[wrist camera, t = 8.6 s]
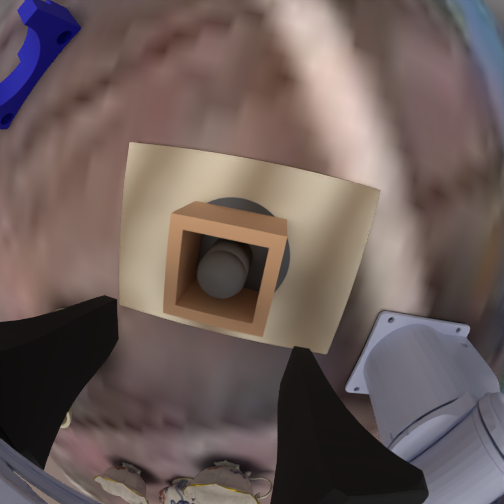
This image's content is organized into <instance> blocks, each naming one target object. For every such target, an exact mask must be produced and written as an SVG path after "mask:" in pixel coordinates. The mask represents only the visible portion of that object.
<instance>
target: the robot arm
mask: <svg viewBox="0 0 504 504" xmlns="http://www.w3.org/2000/svg"><path fill="white" fill-rule="evenodd" d="M390 317H393V318H392V319H391V320H389V321H388V319H389V318H390ZM457 328H458V329H457ZM456 329H457V330H456ZM469 331H470V327H469V326H468V325H467V324H461V323H455V322H449V321H442V320H436V319H430V318H424V317H418V316H412V315H406V314H401V313H395V312H389V311H383V312H381V313H380V314H379V315H378V317H377V320H376V322H375V325H374V327H373V329H372V332H371V334H370V336H369V338H368V341H367V343H366V345H365V347H364V349H363V351H362V353H361V356H360V358H359V360H358V362H357V364H356V366H355V368H354V370H353V372H352V374H351V376H350V378H349V380H348V382H347V384H346V386H345V389H346V391H347V392H351V393H362V394H369V396H370V400H371V403H372V407H373V411H374V414H375V418H376V422H377V426H378V430H379V434H380V438H381V442H382V443H380V442H379V441H378V440H377V439H376V438H375V437H374V436H372V435H371V434H370V433H369V432H368V431H367V430H366V429H365V428H364V427H363V426H362V425H361V424H360V423H359V422H358V421H357V420H356V418H355V417H354V416H353V415H352V414H351V413H350V412H349V410H348V409H347V408H346V407H345V405H344V404H343V403H342V401H341V400H340V399H339V397H338V396H337V394H336V393H335V391H334V390H333V388H332V387H331V385H330V383H329V382H328V380H327V379H326V377H325V375H324V374H323V372H322V370H321V368H320V366H319V365H318V363H317V361H316V359H315V357H314V355H313V354H312V352H311V350H310V349H309V348H304V347H298V346H294V347H293V350H292V353H291V356H290V359H289V361H288V364H287V367H286V370H285V372H284V375H283V378H282V381H281V383H280V390H279V398H278V448H277V464H276V472H275V479H274V485H273V491H272V497H271V503H270V504H504V394H502V393H500V387H499V382H498V380H497V377H496V375H495V374H494V373H493V371H492V370H491V369H490V367H489V366H488V365H487V363H486V362H485V361H484V359H483V358H482V357H481V355H480V354H479V353H478V352H477V350H476V349H475V348H474V347H473V345H472V344H471V343H470V342H469V340H468V339H467V338H466V337H467V335H468V333H469ZM118 339H119V337H118V319H117V299H114V298H111V297H108V296H105V295H104V296H100V297H97V298H93V299H90V300H87V301H84V302H82V303H79V304H76V305H73V306H70V307H67V308H64V309H61V310H58V311H54V312H51V313H48V314H44V315H41V316H37V317H32V318H27V319H22V320H16V321H6V322H0V504H47V503H46V502H45V501H44V500H43V499H42V498H40V497H39V496H38V495H37V494H36V493H35V492H34V491H33V490H32V489H31V487H30V486H29V485H28V484H27V483H26V482H25V481H23V480H22V479H21V478H20V477H19V476H17V475H16V474H15V473H14V472H13V471H15V472H16V473H17V474H18V475H20V476H21V477H22V478H24V479H25V480H26V481H28V482H29V483H30V484H32V485H33V486H35V487H36V488H37V489H39V490H40V491H42V492H44V493H45V494H46V495H48V496H50V497H51V498H53V499H54V500H56V501H57V502H59V503H61V504H101V503H99V502H97V501H95V500H93V499H91V498H89V497H87V496H85V495H83V494H82V493H80V492H78V491H76V490H74V489H72V488H71V487H69V486H67V485H66V484H64V483H62V482H61V481H59V480H57V479H56V478H54V477H52V476H51V475H49V474H48V473H46V472H45V471H43V470H44V468H45V464H46V461H47V458H48V456H49V453H50V450H51V447H52V445H53V442H54V440H55V438H56V435H57V433H58V431H59V429H60V427H61V425H62V423H63V421H64V419H65V417H66V415H67V413H68V411H69V410H70V408H71V406H72V404H73V403H74V401H75V399H76V398H77V396H78V395H79V393H80V392H81V391H82V389H83V388H84V387H85V385H86V384H87V383H88V382H89V380H90V379H91V378H92V377H93V375H94V374H95V373H96V372H97V370H98V369H99V368H100V367H101V365H102V364H103V363H104V362H105V360H106V359H107V358H108V356H109V355H110V353H111V351H112V350H113V348H114V346H115V345H116V343H117V341H118ZM356 387H358V388H356Z"/></svg>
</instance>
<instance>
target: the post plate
mask: <svg viewBox="0 0 504 504" xmlns="http://www.w3.org/2000/svg"><path fill="white" fill-rule="evenodd" d="M379 194H380V190H378V189H375V188H371V187H368V186H364V185H361V184H357V183H354V182H350V181H346V180H343V179H339V178H335V177H331V176H327V175H323V174H319V173H315V172H311V171H306V170H302V169H298V168H293V167H289V166H284V165H280V164H275V163H270V162H265V161H260V160H255V159H249V158H244V157H238V156H233V155H227V154H221V153H214V152H208V151H201V150H194V149H187V148H179V147H171V146H163V145H154V144H144V143H131V142H130V145H129V151H128V158H127V166H126V174H125V183H124V193H123V204H122V217H121V234H120V265H119V293H120V305H123V306H126V307H129V308H132V309H135V310H138V311H142V312H145V313H148V314H151V315H155V316H158V317H162V318H165V319H169V320H172V321H176V322H179V323H183V324H187V325H190V326H194V327H198V328H202V329H206V330H210V331H214V332H218V333H222V334H226V335H230V336H235V337H239V338H244V339H248V340H253V341H257V342H262V343H267V344H272V345H277V346H282V347H287V348H293V347H294V346H298V347H304V348H309V349H310V350H311V352H316V353H322V354H327V353H328V350H329V348H330V345H331V343H332V340H333V338H334V335H335V333H336V330H337V328H338V325H339V322H340V320H341V317H342V314H343V312H344V309H345V306H346V303H347V301H348V298H349V295H350V292H351V289H352V286H353V283H354V280H355V277H356V274H357V271H358V268H359V265H360V262H361V259H362V255H363V252H364V249H365V246H366V242H367V239H368V235H369V232H370V228H371V225H372V221H373V217H374V214H375V210H376V206H377V202H378V198H379ZM194 201H198V202H203V203H208V204H214V205H219V206H224V207H229V208H234V209H239V210H244V211H249V212H254V213H258V214H263V215H268V216H273V217H277V218H282V219H287V241H286V245H285V249H284V253H283V258H282V262H281V266H280V270H279V274H278V279H277V283H276V287H275V291H274V295H273V299H272V303H271V307H270V311H269V315H268V319H267V323H266V327H265V330H264V334H263V337H259V336H254V335H250V334H245V333H240V332H236V331H232V330H227V329H223V328H219V327H215V326H211V325H207V324H203V323H199V322H195V321H191V320H187V319H183V318H180V317H176V316H172V315H169V314H165V313H163V298H164V282H165V269H166V257H167V246H168V236H169V226H170V217H171V213H172V212H174V211H176V210H178V209H180V208H182V207H184V206H186V205H188V204H190V203H192V202H194ZM267 253H268V248H267V247H262V246H257V245H253V244H248V243H243V242H239V241H234V240H229V239H225V238H220V237H215V236H210V235H206V234H202V235H201V242H200V249H199V257H198V264H197V272H196V277H197V279H198V282H199V285H200V286H201V288H202V289H203V291H204V292H205V293H207V294H208V295H210V296H212V297H214V298H219V299H225V298H229V297H232V296H234V295H236V294H237V293H238V292H239V291H240V290H241V289H242V288H247V289H251V290H256V291H259V289H260V285H261V280H262V276H263V271H264V266H265V262H266V257H267Z"/></svg>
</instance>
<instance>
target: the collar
mask: <svg viewBox="0 0 504 504" xmlns="http://www.w3.org/2000/svg"><path fill="white" fill-rule="evenodd" d="M202 234H206V235H210V236H215V237H220V238H225V239H229V240H234V241H239V242H243V243H248V244H253V245H257V246H262V247H267V248H268V253H267V257H266V262H265V266H264V271H263V276H262V280H261V285H260V289H259V291H256V290H251V289H247V288H242V289H241V290H240V291H239V292H238V293H237V294H236V295H234V296H232V297H229V298H225V299H219V298H214V297H212V296H210V295H208V294H207V293H205V292H204V291H203V289H202V288H201V286H200V285H199V282H198V279H197V277H196V272H197V264H198V257H199V249H200V242H201V235H202ZM286 241H287V219H282V218H277V217H273V216H268V215H263V214H258V213H254V212H249V211H244V210H239V209H234V208H229V207H224V206H219V205H214V204H208V203H203V202H198V201H194V202H192V203H190V204H188V205H186V206H184V207H182V208H180V209H178V210H176V211H174V212H172V213H171V217H170V226H169V236H168V246H167V257H166V269H165V282H164V298H163V313H165V314H169V315H172V316H176V317H180V318H183V319H187V320H191V321H195V322H199V323H203V324H207V325H211V326H215V327H219V328H223V329H227V330H232V331H236V332H240V333H245V334H250V335H254V336H259V337H263V334H264V330H265V327H266V323H267V319H268V315H269V311H270V307H271V303H272V299H273V295H274V291H275V287H276V283H277V279H278V274H279V270H280V266H281V262H282V258H283V253H284V249H285V245H286Z"/></svg>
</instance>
